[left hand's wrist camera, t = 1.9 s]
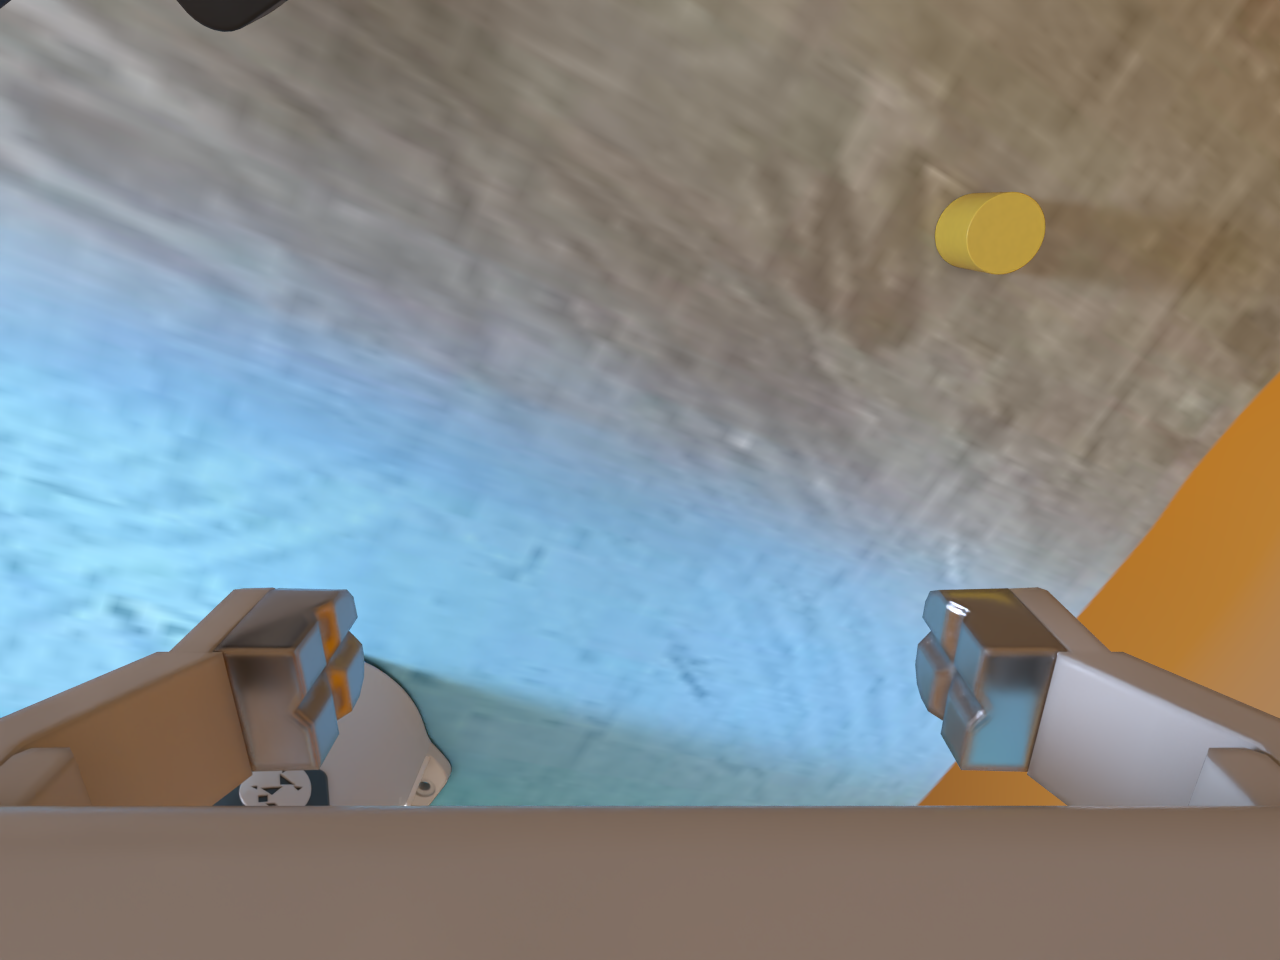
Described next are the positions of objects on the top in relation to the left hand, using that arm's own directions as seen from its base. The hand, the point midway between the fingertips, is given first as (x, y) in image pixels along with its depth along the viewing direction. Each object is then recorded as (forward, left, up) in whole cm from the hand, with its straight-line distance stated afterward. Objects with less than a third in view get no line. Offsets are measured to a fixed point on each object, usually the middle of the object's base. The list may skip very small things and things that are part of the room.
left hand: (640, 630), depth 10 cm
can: (+12, -15, -34) cm, 39 cm away
